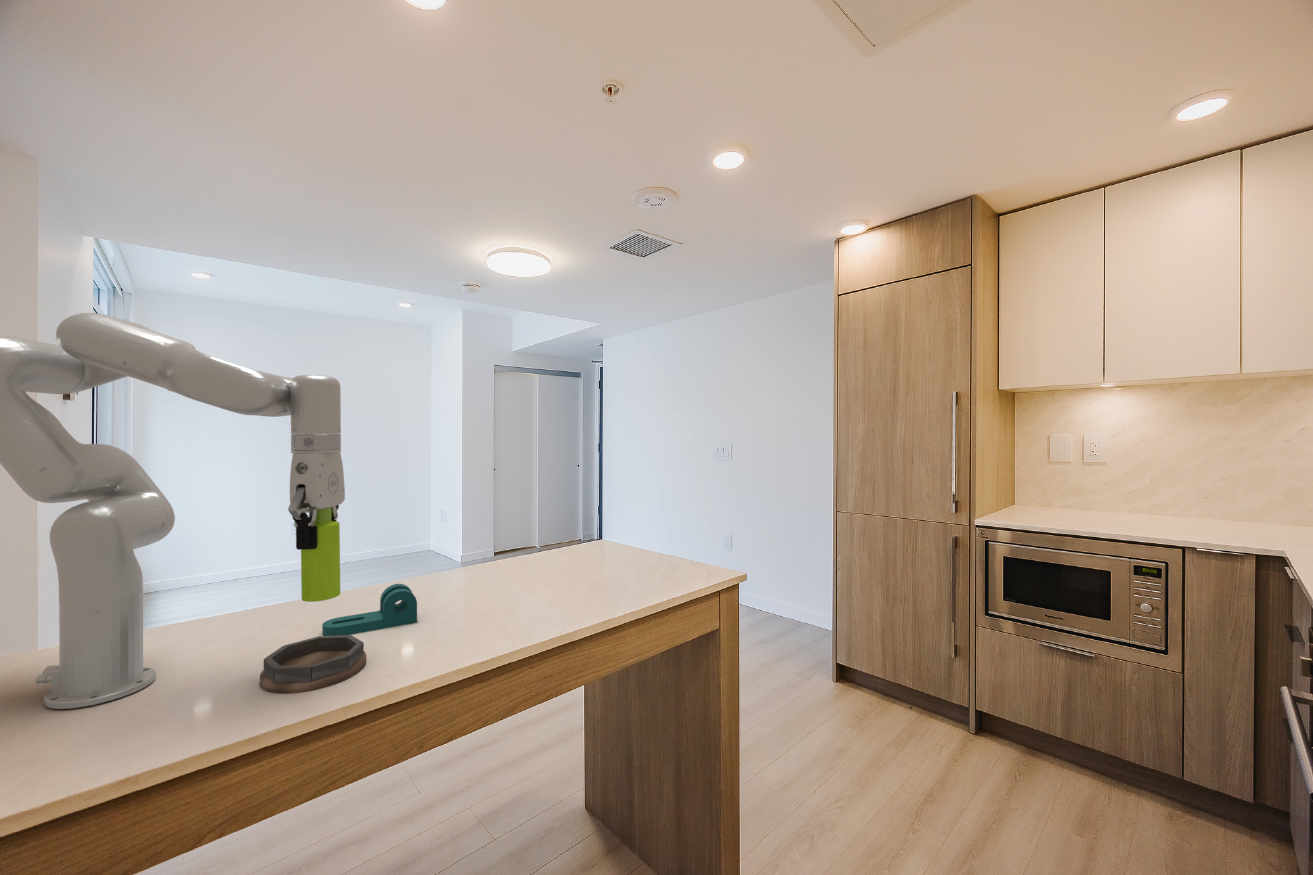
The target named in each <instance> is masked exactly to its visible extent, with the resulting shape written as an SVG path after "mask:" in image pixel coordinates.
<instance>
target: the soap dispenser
mask: <svg viewBox="0 0 1313 875" xmlns="http://www.w3.org/2000/svg"><path fill="white" fill-rule="evenodd" d="M308 508H312V507H311V506H309V507H308ZM309 515H310V512H309V513H308V516H309ZM314 526H317V548H316V549H304V550H300V568H301V569H300V572H301V573H300V578H301V580H300V581H301V600H302V602H306V603H307V602H310V603H313V602H316V603H317V602H322V601H328V600H332V599H334V598H337V597H339V596H340V595H341V549H340V548H341V545H340V544H341V543H340V542H341V540H340V539H341V538H340V535H341V533H340V532H341V530H340V528H341V525H340V522H339V521H337V522H336V521H331V507H329V508H325V509H317V515H316V520H315V525H314Z"/></svg>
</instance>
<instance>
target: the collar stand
mask: <svg viewBox="0 0 1313 875" xmlns="http://www.w3.org/2000/svg"><path fill="white" fill-rule="evenodd" d="M366 665H367V653H366V651H365V650H364V642H363V641H362V640H360V639H358V638H356V637H355V636H354V635H353V634H352V635H337V636H323V635H318V636H315V637H314V636H313V637H311V638H308V639H303V640H301V641H299V640H298V641H296V642H293V643H288V644H285V645H281V647H279V648H278V649H277V650H275V651H274V652H272V653H271V654H269V655H267V656H266V657H265V658H263V669H262V671H261V672H260V675H259V685H260V688H261V689H262V690H264V691H265V692H269V693H274V694H297V693H303V692H309V691H313V690H319V689H323V688H327V687H330V686H334V685H336V684H339V683H341V682H344V681H346V680H348V679H350V678H352V677H354V676H356V675H357V674H358V673H360V672H361V671H362V670H363V669H364V668H365V667H366Z"/></svg>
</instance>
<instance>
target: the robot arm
mask: <svg viewBox="0 0 1313 875" xmlns="http://www.w3.org/2000/svg"><path fill="white" fill-rule="evenodd" d="M55 339H56V341H57V343H58V344H53V343H47V342H42V341H38V340H37V341H36V340H32V339H27V338H21V337H15V336H9V335H0V466H1V467H2V468H4V470H5V471H6V472H7V474H8V475H9V476H10V477H11V478H12V479H13V480H14V481H15V483H16V484H17V486H18V487H19V488H20V489H21V490H22V491H23V492H24V494H26V495H27V496H28V497H30V498H31V499H33V500H34V501H37V502H41V503H45V504H56V503H57V504H58V503H70V502H76V501H82V500H87V501H86V502H82V503H80V504H76V505H74V506H72V507H70V508H68V509H66V510H65V511H64V512H62V513H61V514H59V515H58V517H56V518H55V520H54V522H53V523H52V525H51V527H50V531H49V544H50V548H51V551H52V556H53V558H54V561H55V566H56V572H57V578H58V579H57V580H58V581H57V582H58V608H59V613H58V615H59V616H58V621H59V622H58V623H59V624H58V625H59V627H58V629H59V632H58V633H59V634H58V635H59V637H58V640H59V641H58V642H59V648H58V649H59V650H58V651H59V652H58V654H59V656H58V658H59V663H58V665H48V666H47V667H45V668H44V669H43V671H42V673H41V674H39V675H38V676H37V677H36V679H35V683H36V684H48V683H49V684H50V683H51V690H50V691H49V692H47V693H46V695H45V696H44V698H43V699H44V706H46V708H49V709H52V710H67V709H69V710H71V709H78V708H83V707H89V706H94V705H98V704H103V703H106V702H110V701H114V700H117V699H120V698H123V697H126V696H129V695H132V694H134V693H136V692H138V691H140V690H142V689H144V688H146V687H148V686H149V685H150V684H152V683H153V681H155V679H156V677H157V672H156V671H157V670H155V669H154V668H152V667H150V666H144V580H143V579H144V577H143V572H142V569H141V568H142V567H141V566H140V563H139V561H138V559H137V556H136V554H135V552H134V550H137V549H139V548H143V547H147V546H149V545H152V544H154V543H157V542H160V541H161V540H163V539H164V538H165V537H167V536H168V535H169V534H170V533H171V531H172V530H173V528H174V525H175V520H176V516H175V515H176V514H175V511H174V509H173V507H172V504H171V503H170V501H169V500H168V498H167V497H166V496H165V495H164V493H163V492H162V491H161V489H160V488H159V487H158V486H157V484H156V483H155V482H154V481H153V479H152V478H151V477H150V476H149V475H148V473H147V472H146V471H145V469H144V468H143V467H142V466H141V465H140V463H139V462H138V460H137V459H135V458H134V457H133V456H132V455H131V454H129V453H128V452H126V451H124V449H121V448H119V447H117V446H112V445H109V444H102V443H82V442H79V441H78V440H77V439H75V438H74V437H73V436H72V435H71V433H70V432H69V431H68V430H67V429H66V428H65V427H64V425H63V424H62V423H61V421H60V420H59V419H58V418H57V417H56V416H55V415H54V414H53V412H51V411H50V410H49V409H47V408H46V407H44V406H43V405H42V404H41V403H39V402H37V401H35V399H33V398H32V397H31V396H29V395H28V394H27V392H28V393H37V394H38V393H40V394H51V395H69V394H75V393H81V392H83V391H86V390H90V389H93V388H96V387H99V386H102V385H105V384H108V383H111V382H114V381H118V380H121V379H123V378H127V377H130V378H133V379H134V380H138V381H142V382H144V383H148V384H151V385H153V386H156V387H157V386H158V387H159V388H163V389H165V390H167V391H169V392H173V393H175V394H178V395H180V396H183V397H185V398H187V399H190V400H191V399H192V400H194V401H196V402H200V403H203V404H207V405H209V406H212V407H215V408H219V409H221V410H226V411H229V412H232V413H236V414H238V415H239V414H240V415H244V416H258V417H261V416H262V417H270V418H271V417H273V418H276V417H278V418H279V417H286V416H288V417H289V416H290V453H291V454H292V457H291V458H292V459H291V464H290V476H289V506H288V509H287V510H288V512H289V514H290V515H291V517H292V520H293V522H294V524H293V526H294V527H295V540H296V541H295V546H296V547H295V548H296V550H300V551H301V550H304V549H316V548H317V526H314V525H315V520H316V515H317V509H325V508H329V507H331V521H336V522H338V521H337V520H338V517H339V516H338V515H339V514H338V510H339V509H340V506H339V505H342V503H344V501H345V499H346V490H345V488H346V487H345V474H344V466H343V464H344V463H343V460H342V459H343V458H342V454H341V453H342V435H341V434H342V433H341V432H342V431H341V430H342V428H341V427H342V426H341V424H342V423H341V422H342V420H341V416H342V414H341V413H342V411H341V409H342V408H341V406H342V405H341V396H342V394H341V384H340V382H339V380H338V379H337V378H336V377H333V376H327V375H318V374H316V375H315V374H308V375H307V374H303V375H301V374H300V375H296V376H294V377H288V376H282V375H277V374H274V373H268V372H264V371H260V370H259V371H258V370H254V369H251V368H248V367H244V366H241V365H239V364H236V363H232V362H229V361H226V360H224V359H220V358H218V357H214V356H211V355H209V354H206V353H204V352H201V351H199V350H197V349H196V347H195V346H194V344H192V343H190V342H187V341H185V340H182V339H179V338H175V337H172V336H169V335H166V334H163V333H160V332H157V331H155V330H151V329H149V328H147V327H146V326H143V325H141V324H139V323H135V322H132V321H129V320H125V319H121V318H118V317H115V316H111V315H107V314H103V313H95V312H82V313H76V314H73V315H70V316H69V317H66V318H65V319H63V320H62V321H61V322H60V323H59V324H58V326H57V328H56V331H55ZM309 506H311V507H312V508H309ZM309 512H310V515H309ZM307 513H308V514H307Z"/></svg>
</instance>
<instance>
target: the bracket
mask: <svg viewBox="0 0 1313 875" xmlns="http://www.w3.org/2000/svg"><path fill="white" fill-rule="evenodd" d="M399 601H400V602H399ZM379 604H380V605H379V608H380V609H379V610H376V611H369V612H362V613H358V614H357V613H356V614H351V615H345V616H338V617H334V618H331V619H328V620H326V621H324V622H322V634H321V636H337V635H352V636H353V635H356V634H361V633H362V634H363V633H367V632H372V631H374V632H375V631H378V630H383V629H389V628H394V627H395V628H396V627H400V626H402V627H403V626H406V625H411V624H417V623H418V600H417V598H416V596H415V595H414V593H413V592H412V589H411V588H410V587H409V586H408V585H407V584H403V583H394V584H391V585H389V586H388V587H387V588H385V589H384V590H383V592H382V594H381V595H380V599H379Z"/></svg>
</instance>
